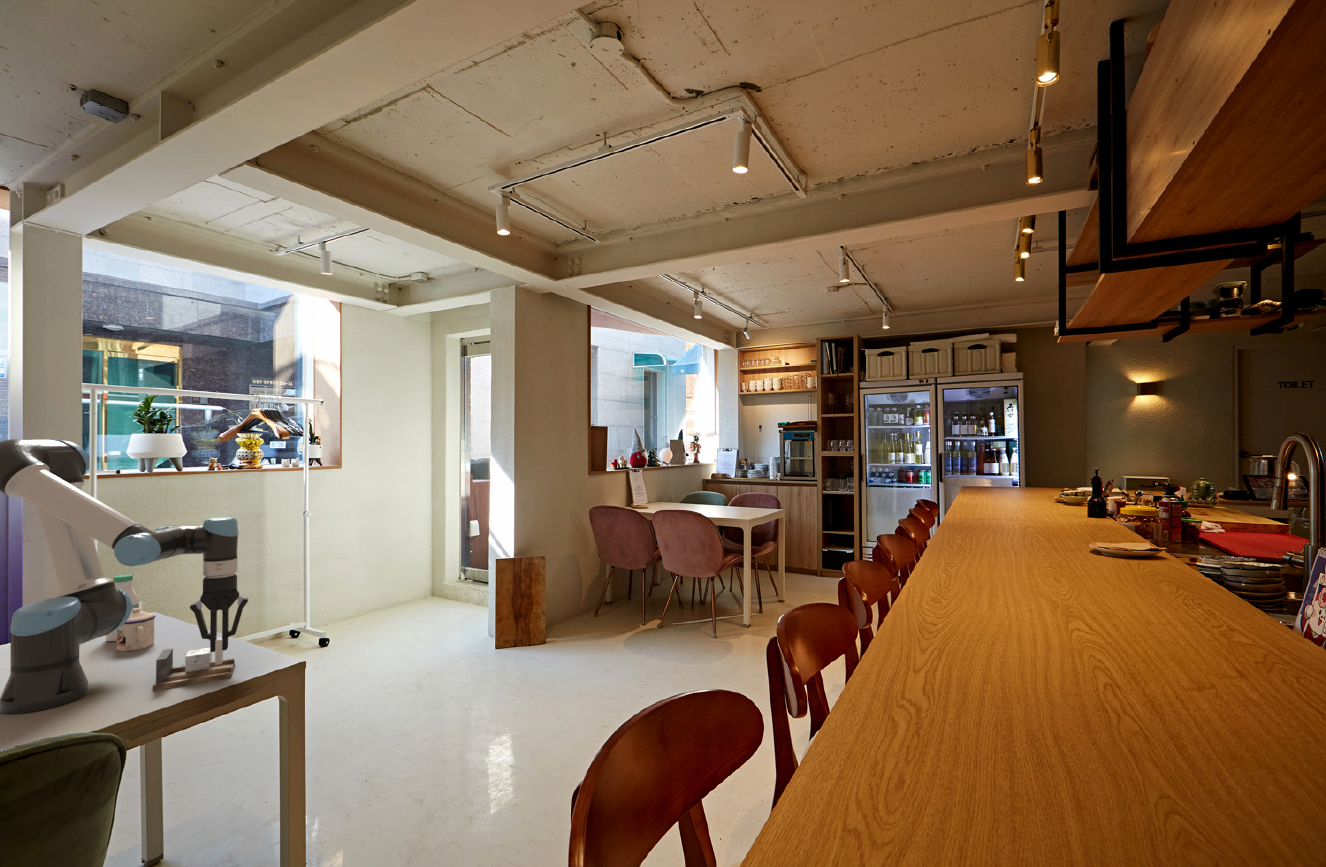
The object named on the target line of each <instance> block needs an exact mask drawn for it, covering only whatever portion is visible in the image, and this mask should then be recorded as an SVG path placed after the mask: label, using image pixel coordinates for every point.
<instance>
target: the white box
mask: <svg viewBox="0 0 1326 867" xmlns="http://www.w3.org/2000/svg"><path fill="white" fill-rule="evenodd" d="M212 653H213V652H211V651H210V647H206V648H205V647H204V648H198V649H191V650H188V651H187V653H186V655H185V658H184V659H185V662H184V663H185V664H184V666H185V674H188V673H194V672H200V671H207V670H210V669H211V666H212V662H213V654H212Z"/></svg>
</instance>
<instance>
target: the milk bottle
mask: <svg viewBox="0 0 1326 867" xmlns="http://www.w3.org/2000/svg"><path fill="white" fill-rule="evenodd" d="M133 578H134V576H133V574H119V575H115V576H113V578H112V580H114V583H115V587H116V588H117V589H121V590H122V591H123V592H126V593H127V594H128V595H129V597H130V599H131V601H132V609H134V608H140V606H139V605H140V604H139V596H138V593H136V591H135V589H134V587H133V583H132V582H133ZM131 612H132V611H131ZM105 640H106V641H107V642H108V641H117V630H115V631H113V632H111V633H110V634H108V635H105Z"/></svg>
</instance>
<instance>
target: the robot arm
mask: <svg viewBox="0 0 1326 867" xmlns="http://www.w3.org/2000/svg"><path fill="white" fill-rule="evenodd" d="M89 469H90V459H89V456H88V454H87V452H86V451H85V450H84V449H83V448H82V447H81V446H79V445H78V444H76V443H75V442H72V441H68V440H61V439H56V438H49V439H22V438H17V439H14V438H13V439H5V440H1V441H0V492H1V493H3V494H4V495H6V496H8V497H11V498H21V499H24V500H25V501H27V502H29V503H31V504H32V505H34V506H35V508H36V512H37V516H38V520H39V522H40V524H41V525H40V526H41V528H42V531H43V535H44V539H45V543H46V546H47V548H48V552H49V555H50V558H51V562H52V565H53V568H54V572H55V575H56V578H57V582H58V584H59V590H58V592H57V593H56V594H55V595H54V597H51V598H46V599H45V600H44V599H43V600H38V601H33V602H31V603H28V604H25V605H22V606H21V607H19V608H17V610H16V611H14V612H13V614H12V616H11V624H10V627H9V632H10V671H9V672H10V674H9V677H8V679H7V682H6V684H5V686H4V688H3V690H2V693H1V695H0V713H2V714H11V715H12V714H14V715H15V714H24V713H32V712H37V711H42V710H47V709H51V708H55V707H59V706H62V705H65V704H69V703H71V702H74V701H76V700H79V699H81V698H83V697H84V696H86V695H87V694H88V693H89V689H90V688H89V685H90V684H89V680H88V678H87V676H86V674H85V671H84V669H83V666H82V665H81V663H80V645H83V644H85V643H87V642H88V643H89V642H90V641H93V640H95V639H97V638H102V637H106V635H108V634H110V633H111V632H113V631H115V630H117V629H118V628H120V627H121V626H122V625H124V624H125V623H126V621H127V619H128V618H129V617H130V614H131V611H132V601H131V599H130V597H129V595H128V594H127V593H126V592H123V591H122V590H121V589H117V588H116V587H115V583H114V580H113V578H109V577H106V576H105V574H104V571H103V568H102V564H101V561H100V558H99V555H98V551H97V547H96V545H95V541H94V540H97V541H98V542H100V543H102V544H103V545H105V546H107V547H108V548H110V549H112V550H113V554H114V557H115V558H116V560H117V562H118V563H119V564H122V565H124V566H125V567H135V566H136V567H137V566H143V565H148V564H151V563H153V562H157V561H161V560H165V559H168V558H171V557H176V556H180V555H193V554H198V555H199V554H202V558H203V559H202V575H203V576H204V577H203V578H202V593H201V595H200V598H199V599H198V600H197V601H196V602H191V605H189V609H190V610H191V611H192V612H193V614H194V616H195V619H196V623H197V626H198V629H199V633H200V637H201V639H203V640H209V644H210V646H209V648H210V651H211V652H212V653H215V654H214V661H215V665H218V664H222V662H223V660H224V651H227V650H228V648H229V637H232V636H234V635H236V632H237V630H238V627H239V624H240V620H241V617H242V614H243V610H244V608H245V606H246V605H247V604H248V602H249V597H247V596H246V597H245V596H242V595H240V592H239V591H238V575H237V574H236V573H237V572H238V562H239V561H238V541H239V540H238V538H239V528H238V520H237V519H236V518H235V517H232V516H231V517H230V516H229V517H228V516H226V517H225V516H222V517H209V518H205V519H204V521H203V524H202V525H165V526H160V527H157V528H156V529H155V530H151V529H149V528H147V527H145V526H144V525H142V524H141V523H138V522H137V521H135V520H133V519H131V518H130V517H129V516H128V517H127V515H124V514H122V512H119V511H118V510H116V509H114V508H112V507H110V506H109V505H107V504H106V503H105V502H102V501H100V500H98V499H97V498H95V497H93V496H92V495H89V494H88V493H86V492H84V491H83V490H81V489H82V488H83V487H84V485H85V481H84V477H85V476H86V475H87V473H88V472H87V471H88V470H89ZM236 601H237V605H238V606H237V609H236V613H235V617H234V620H233V623H232V626H231V629H230V630H229V621H230V620H229V619H230V618H229V613H230V612H229V610H230V608H231V607H232V605H233V604H234V603H235V602H236ZM202 604H203V605H202ZM203 606H205V607H206V608H207V609H208V611H209V612H210V620H209V621H210V622H209V624H210V626H209V629H210V630H209V629H208V628H207V624H206V621H205V616H204V614H203V611H202V608H203ZM219 610H220V611H221V614H222V615H221V618H222V620H221V624H222V625H221V636H220V637H217V636H218V611H219ZM209 631H210V632H209Z"/></svg>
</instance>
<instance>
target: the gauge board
mask: <svg viewBox="0 0 1326 867" xmlns="http://www.w3.org/2000/svg"><path fill="white" fill-rule="evenodd" d="M173 653H174V648H165V649H162V651H161V652H160V653H159V655H158V657H156V661H155V664H156V666H155V681H154V683H153V685H152V687H151V688H152V691H157V690H158V691H159V690H163V689H169V688H175V687H182V686H188V685H196V684H200V683H208V682H212V681H219V680H225V679H231V678H232V675H233V671H234V668H235V665H236V663H235V662H236V661H235V658H230V659H229V658H228V659H223V662H222V664H218V665H215V660H214V661H212V666H211V669H210V670H207V671H200V672H194V673H188V674H185V665H184V666H183V665H182V666H175V667H174V666H173V663H174V662H173V660H174V654H173Z"/></svg>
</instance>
